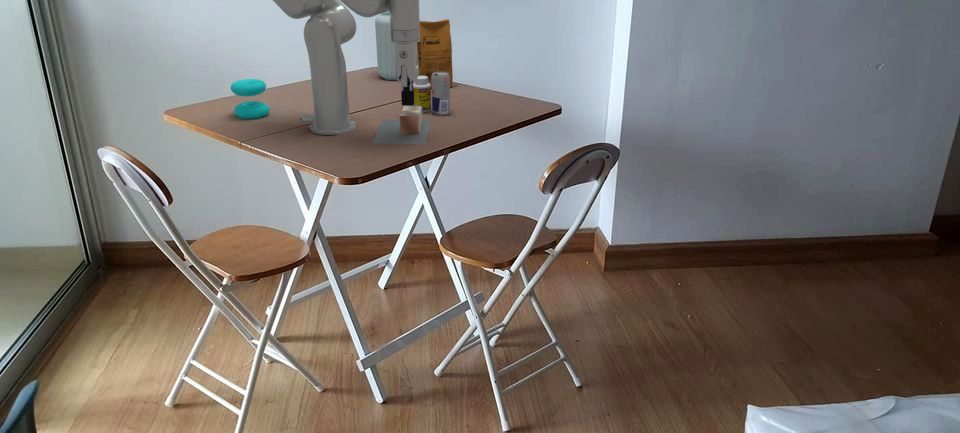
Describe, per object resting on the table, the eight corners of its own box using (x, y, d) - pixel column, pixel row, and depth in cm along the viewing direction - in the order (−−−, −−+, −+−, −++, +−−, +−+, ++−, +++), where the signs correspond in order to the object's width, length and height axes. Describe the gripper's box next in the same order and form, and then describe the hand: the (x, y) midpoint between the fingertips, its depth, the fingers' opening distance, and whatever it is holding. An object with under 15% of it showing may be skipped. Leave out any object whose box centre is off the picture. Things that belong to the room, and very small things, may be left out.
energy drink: (433, 110, 222) (432, 71, 217) (450, 111, 222) (450, 71, 217) (431, 116, 217) (430, 75, 212) (449, 116, 217) (448, 75, 212)
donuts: (267, 77, 220) (263, 85, 211) (271, 109, 224) (267, 119, 215) (232, 78, 218) (227, 86, 209) (237, 111, 222) (232, 120, 213)
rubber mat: (371, 145, 193) (371, 143, 193) (384, 120, 213) (383, 119, 213) (425, 145, 192) (424, 144, 192) (432, 121, 212) (432, 119, 212)
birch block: (399, 116, 198) (404, 106, 207) (400, 133, 200) (404, 123, 209) (418, 116, 198) (421, 106, 207) (418, 134, 200) (422, 123, 209)
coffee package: (413, 83, 253) (410, 18, 244) (448, 81, 256) (447, 16, 247) (418, 90, 244) (415, 23, 235) (454, 88, 247) (453, 21, 238)
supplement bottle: (418, 114, 219) (417, 80, 215) (409, 109, 223) (408, 76, 219) (434, 111, 222) (434, 77, 218) (425, 107, 226) (424, 74, 222)
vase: (397, 83, 254) (393, 17, 245) (371, 78, 260) (367, 14, 251) (417, 76, 263) (415, 12, 254) (392, 72, 269) (389, 9, 259)
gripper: (416, 41, 182) (418, 112, 190) (423, 30, 196) (425, 97, 204) (386, 40, 183) (389, 112, 190) (395, 30, 196) (398, 97, 204)
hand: (408, 104), depth 197 cm, fingers closed
